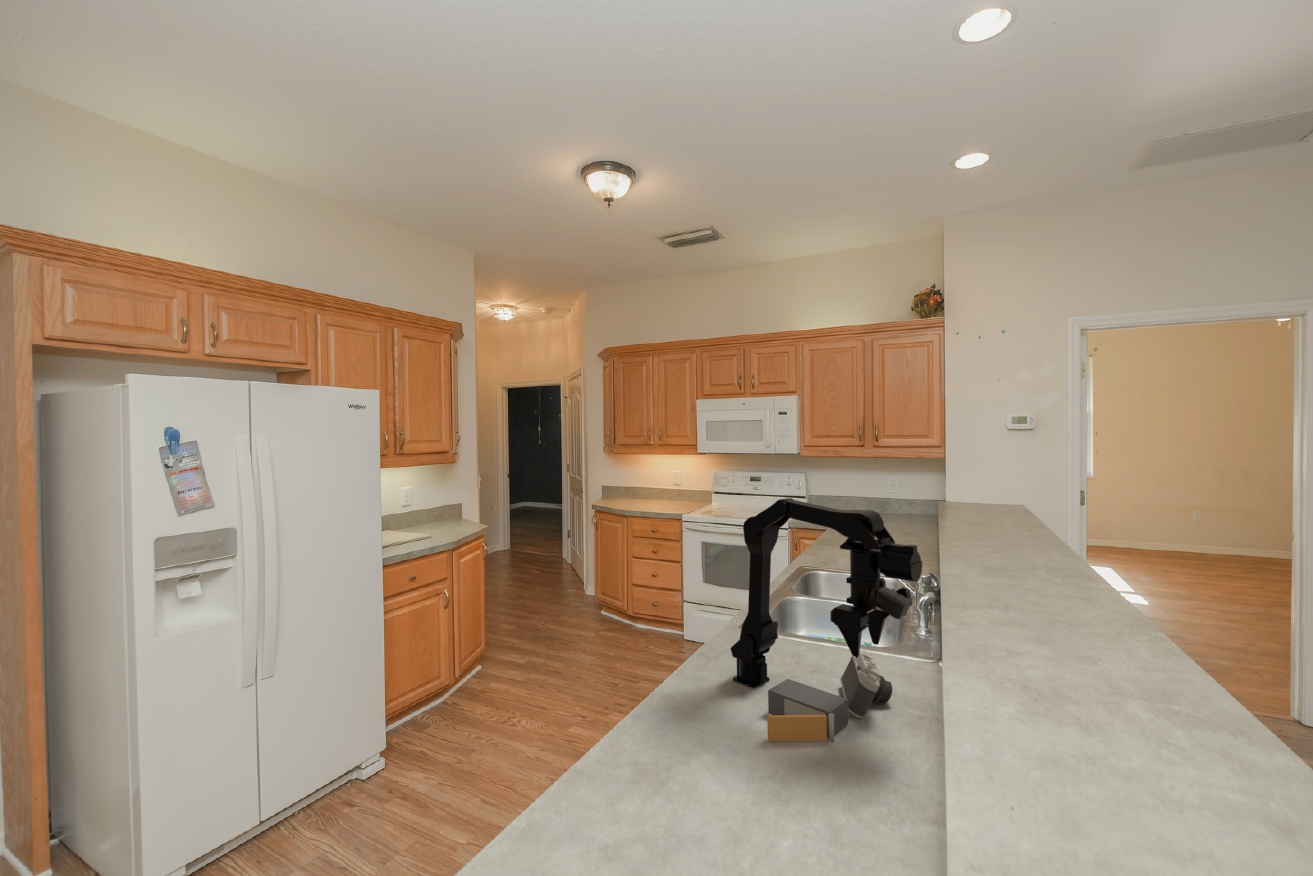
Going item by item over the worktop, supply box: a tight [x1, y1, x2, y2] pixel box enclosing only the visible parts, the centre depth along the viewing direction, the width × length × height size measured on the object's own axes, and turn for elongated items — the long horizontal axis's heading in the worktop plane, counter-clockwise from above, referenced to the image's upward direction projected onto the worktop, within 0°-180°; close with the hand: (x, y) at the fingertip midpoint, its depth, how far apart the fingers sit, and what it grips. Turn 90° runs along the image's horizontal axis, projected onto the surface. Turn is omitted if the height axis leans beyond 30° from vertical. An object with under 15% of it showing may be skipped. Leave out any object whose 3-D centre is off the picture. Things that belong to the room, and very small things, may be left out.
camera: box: [840, 649, 893, 719], centre depth 122 cm, size 9×16×10 cm, turn 168°
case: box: [767, 678, 849, 743], centre depth 115 cm, size 15×9×5 cm, turn 45°
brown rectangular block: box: [767, 713, 828, 742], centre depth 108 cm, size 11×1×5 cm, turn 90°
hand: (865, 650), depth 114 cm, fingers open, 9 cm apart
